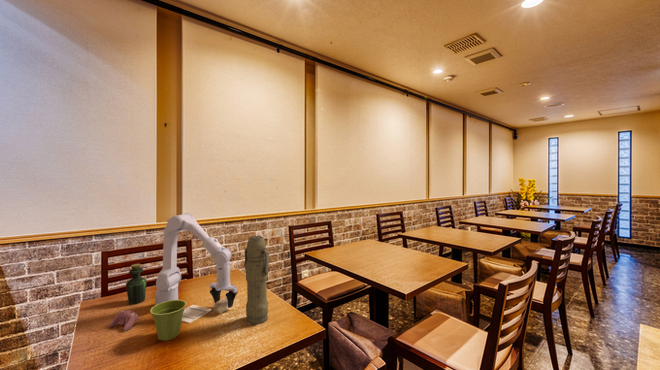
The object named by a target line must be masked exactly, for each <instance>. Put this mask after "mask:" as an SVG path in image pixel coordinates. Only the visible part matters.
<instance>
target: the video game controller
mask: <svg viewBox="0 0 660 370" xmlns="http://www.w3.org/2000/svg"><path fill="white" fill-rule="evenodd" d="M138 317H139V315H138V314H137V313H136V312H135V311H133V310H131V309H130V310H129V309H127V310H124V309H123V310H120V311H119V312H117V314H115V317H113V319H112V320H111V321H110V322H109V325H108V326H109V328H114V327H115V326H116V325H117V324H119V326H124V327H123V332H128V331H129V330H131V328H132V327H133V326H134V325H135V323H136V321H138Z"/></svg>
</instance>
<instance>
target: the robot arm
mask: <svg viewBox="0 0 660 370" xmlns="http://www.w3.org/2000/svg"><path fill="white" fill-rule="evenodd" d="M163 229H164V230H163V243H162V244H163V245H162V246H163V247H162V251H163V252H162V253H163V254H162V269H161V270H160V271H159V273H158V274H157V279H156V281H155V286H156V291H155V294H154V299H155V300H154V302H155V304H154V306H155V305H157V304H159V303H162V302H165V301H170V300H179V285H180V284H179V283H180V282H181V280H182V275H181V271H180V268H179V267H178V266H177V263H178V262H177V261H178V260H177V258H178V257H177V256H178V234H179V233H180V232H182V231H185V232H186V231H187V232H191V233H192V234H193V235H194V236H195V237H197V238H198V239H199V240H200V241H201V242H202V243H203V248H204V249H205V250H206V251H208V253H209V254H210V255H211V256H212V257H213V261H214V263H215V265H216V267H215V268H216V282H211V283H210V284H209V289H210V290H209V293H210V295H211V296H212V298H213V302H214V303H216V302H218V301H219V300H221V292H222V291H225V292H226V293H225V297H227V301H228V308H229V309H231V308H232V306H233V302H234V301H235V298H236V296H237V295H238V291H239V289H238V286H235V285H233V284H231V261H230V260H231V259H232V256H233V253H232V251H231V249H229V248H227V247H225V246H223V245H222V244H221V243H220V242H219V239H217V238H215V237H214V236H213V237H211V236H210V235H208V233H207V232H206V231H205V230H204V229H203V227H202V226H201V225H200V223H198V222H197V219H196V218H195V217H194V216H193V215H192V214H191V213H189V212H186V213H184V214H182V213H181V214H177V215H172V216H171V217H170V218H168V219H167V224H166V225H165V227H164V228H163ZM233 307H234V306H233Z"/></svg>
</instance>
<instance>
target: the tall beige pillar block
mask: <svg viewBox="0 0 660 370" xmlns="http://www.w3.org/2000/svg"><path fill="white" fill-rule="evenodd" d="M234 306H235V305H234V302H233V306H232V307H234ZM232 307H231V308H232ZM229 309H230V308H228V301H227V297H226V296H225V297H223V298H220V300H219V301H218V302H216V303H215V302H214V303H213V313H216V314H219V315H221V314H222V313H225V312H226V311H227V310H229Z"/></svg>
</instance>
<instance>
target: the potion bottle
mask: <svg viewBox="0 0 660 370" xmlns="http://www.w3.org/2000/svg"><path fill="white" fill-rule="evenodd" d="M141 266H142V264H141V263H135V264H131V266H130V267H131V269H130V270H129V271H128V274H129V275H131V277H132V278H131V279H129V280H128V281H127V282H126V284H125V288H126V294H127V296H126V297H127V301H128V304H129V305H137V304H138V305H139V304H142V303H143V302H144V301H145V300H146V290H147V279H146V278H144V277H141V275H142V274H141V273H143V272H144V268H142V267H141Z"/></svg>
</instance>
